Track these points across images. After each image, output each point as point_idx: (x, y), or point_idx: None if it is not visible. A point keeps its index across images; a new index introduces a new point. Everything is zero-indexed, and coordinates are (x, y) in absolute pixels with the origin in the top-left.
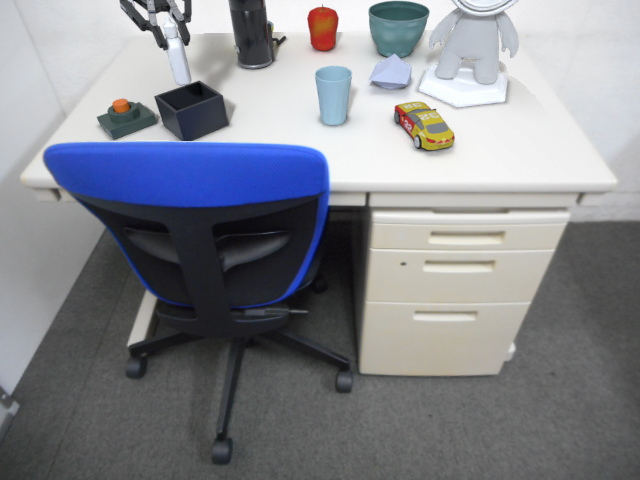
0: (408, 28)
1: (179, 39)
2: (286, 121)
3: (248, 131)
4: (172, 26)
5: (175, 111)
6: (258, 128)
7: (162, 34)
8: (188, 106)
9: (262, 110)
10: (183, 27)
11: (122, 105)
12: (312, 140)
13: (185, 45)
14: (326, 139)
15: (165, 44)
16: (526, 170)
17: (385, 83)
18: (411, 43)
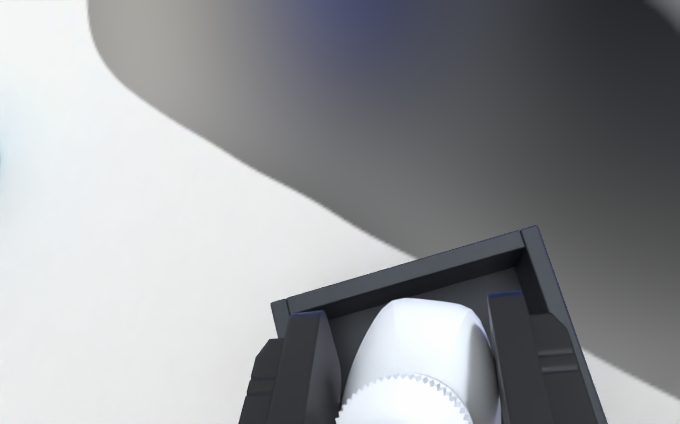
0: None
1: (360, 381)
2: (102, 232)
3: (256, 227)
4: (376, 382)
5: (535, 240)
6: (214, 231)
7: (505, 354)
8: (460, 266)
9: (144, 367)
10: (273, 398)
11: None
12: (88, 72)
13: (335, 353)
14: (48, 59)
15: (502, 293)
16: None
17: None
18: None
